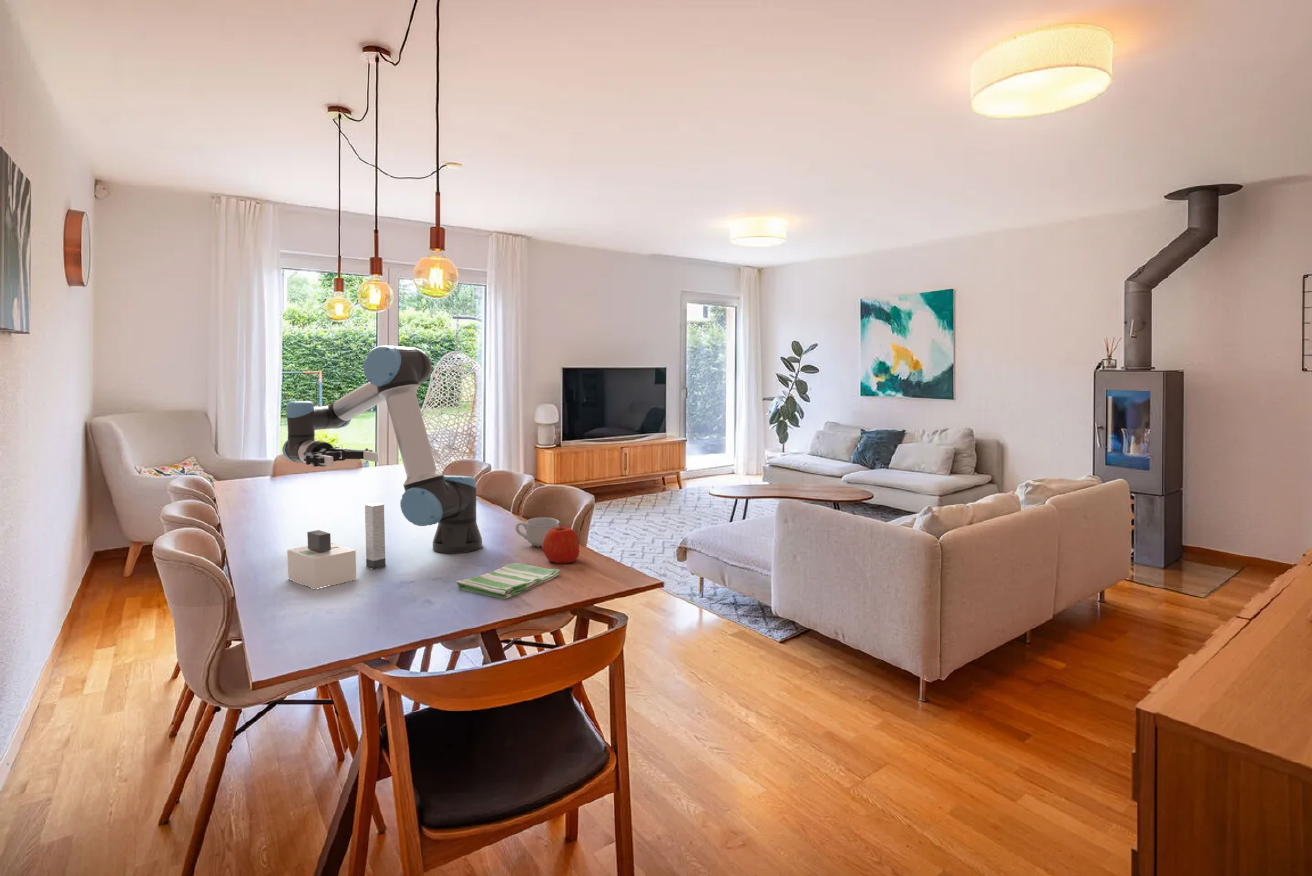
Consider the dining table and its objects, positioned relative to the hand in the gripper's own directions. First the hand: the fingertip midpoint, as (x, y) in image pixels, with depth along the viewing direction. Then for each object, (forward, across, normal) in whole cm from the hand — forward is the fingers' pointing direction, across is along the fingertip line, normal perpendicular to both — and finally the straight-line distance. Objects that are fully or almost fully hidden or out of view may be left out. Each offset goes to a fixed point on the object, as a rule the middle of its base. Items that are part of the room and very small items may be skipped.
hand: (355, 459), depth 195 cm
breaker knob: (+10, +16, -22) cm, 29 cm away
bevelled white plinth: (+10, +16, -30) cm, 35 cm away
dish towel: (+49, -14, -31) cm, 60 cm away
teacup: (+27, -46, -30) cm, 62 cm away
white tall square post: (+10, 0, -30) cm, 31 cm away
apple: (+46, -37, -30) cm, 67 cm away
